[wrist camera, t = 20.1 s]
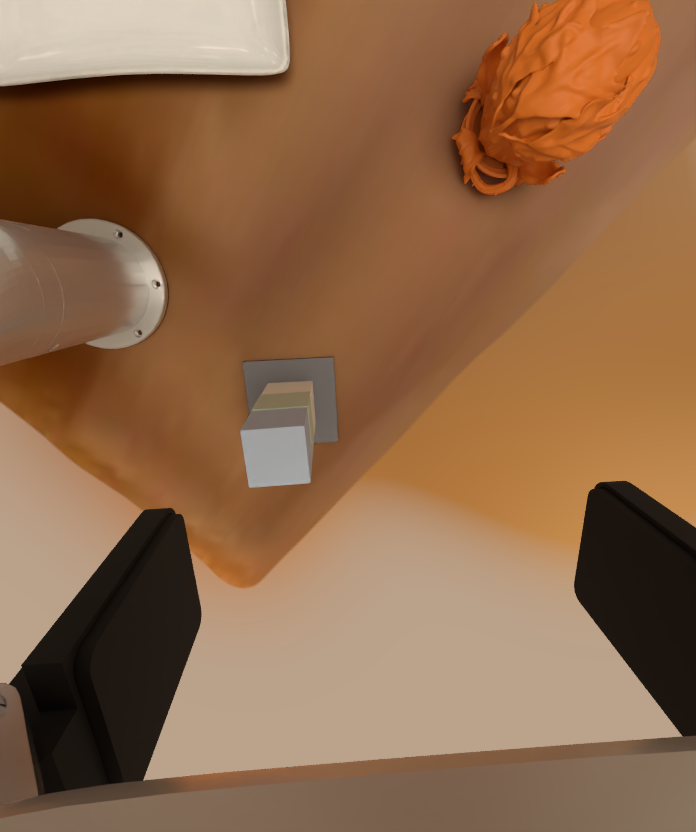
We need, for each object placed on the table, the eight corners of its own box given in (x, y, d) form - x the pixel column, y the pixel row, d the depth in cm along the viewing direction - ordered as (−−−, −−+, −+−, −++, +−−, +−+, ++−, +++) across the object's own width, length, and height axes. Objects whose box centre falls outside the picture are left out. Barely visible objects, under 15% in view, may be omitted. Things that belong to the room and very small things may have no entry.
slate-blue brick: (258, 462, 39) (249, 487, 34) (251, 411, 38) (240, 430, 33) (312, 457, 39) (310, 482, 34) (307, 406, 38) (304, 425, 33)
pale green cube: (266, 440, 44) (258, 460, 39) (260, 394, 42) (251, 409, 37) (314, 437, 44) (312, 457, 39) (310, 391, 42) (307, 405, 38)
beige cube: (272, 425, 49) (266, 441, 44) (267, 383, 47) (261, 395, 42) (315, 422, 49) (314, 438, 44) (312, 380, 47) (310, 392, 42)
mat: (253, 445, 50) (252, 446, 49) (243, 361, 46) (242, 362, 46) (338, 440, 50) (338, 441, 50) (333, 356, 47) (333, 357, 46)
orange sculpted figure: (571, 157, 42) (740, 75, 24) (475, 224, 43) (571, 190, 26) (522, 41, 38) (676, -147, 21) (420, 117, 40) (488, -1, 23)
